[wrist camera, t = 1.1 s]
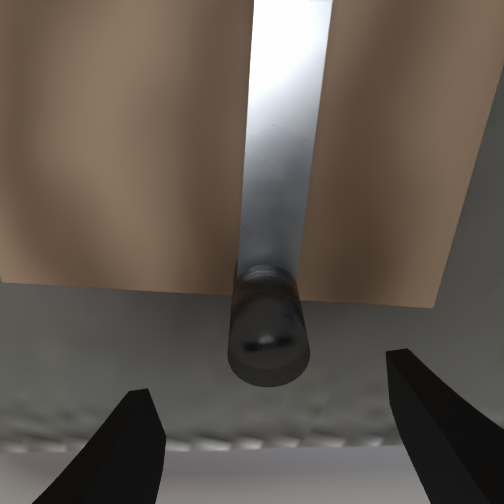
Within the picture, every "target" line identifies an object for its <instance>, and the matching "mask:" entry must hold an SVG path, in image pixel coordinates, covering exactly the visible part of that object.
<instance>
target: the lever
mask: <svg viewBox="0 0 504 504" xmlns="http://www.w3.org/2000/svg"><path fill="white" fill-rule="evenodd" d="M332 1H333V0H254V16H253V32H252V48H251V64H250V80H249V96H248V111H247V127H246V143H245V159H244V175H243V191H242V207H241V223H240V239H239V255H238V261H237V263H236V266H235V270H234V281H233V293H232V306H231V318H230V330H229V342H228V362H229V364H230V367H231V369H232V370H233V372H234V373H235V374H236V375H237V376H238V377H239V378H241V379H242V380H243V381H245V382H247V383H249V384H252V385H255V386H259V387H277V386H281V385H285V384H287V383H289V382H291V381H293V380H295V379H296V378H297V377H299V376H300V375H301V374H302V373H303V371H304V370H305V369H306V367H307V365H308V362H309V359H310V348H309V343H308V338H307V333H306V328H305V322H304V317H303V312H302V307H301V302H300V297H299V292H298V287H297V282H296V281H297V273H298V265H299V257H300V250H301V242H302V234H303V226H304V219H305V211H306V203H307V195H308V187H309V180H310V172H311V164H312V156H313V149H314V141H315V133H316V125H317V118H318V110H319V102H320V94H321V87H322V79H323V71H324V63H325V55H326V48H327V40H328V32H329V24H330V17H331V9H332Z"/></svg>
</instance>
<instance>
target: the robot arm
mask: <svg viewBox="0 0 504 504" xmlns="http://www.w3.org/2000/svg"><path fill="white" fill-rule="evenodd" d="M386 362H387V375H388V387H389V400H390V406H391V409H392V413H393V416H394V419H395V422H396V425H397V428H398V431H399V434H400V437H401V439H402V441H403V444H404V446H405V448H406V450H407V452H408V455H409V457H410V459H411V461H412V463H413V466H414V468H415V470H416V472H417V474H418V476H419V479H420V481H421V483H422V485H423V487H424V490H425V492H426V494H427V496H428V498H429V501H430V503H431V504H504V429H502V428H501V427H500V426H498V425H497V424H495V423H494V422H493V421H491V420H490V419H489V418H487V417H486V416H485V415H483V414H482V413H481V412H479V411H478V410H477V409H475V408H474V407H473V406H472V405H470V404H469V403H468V402H467V401H465V400H464V399H463V398H462V397H461V396H459V395H458V394H457V393H456V392H455V391H453V390H452V389H451V388H450V387H449V386H448V385H446V384H445V383H444V382H443V381H442V380H441V379H440V378H439V377H437V376H436V375H435V374H434V373H433V372H432V371H431V370H430V369H429V368H428V367H427V366H426V365H424V364H423V363H422V362H421V361H420V360H419V359H418V358H417V357H416V356H415V355H414V354H413V353H412V352H411V351H410V350H409V349H407V348H406V349H399V350H393V351H386ZM165 445H166V435H165V432H164V429H163V427H162V424H161V422H160V419H159V416H158V414H157V411H156V408H155V406H154V403H153V400H152V398H151V395H150V393H149V390H148V388H147V389H141V390H134V391H129V392H128V393H127V394H126V395H125V397H124V398H123V399H122V400H121V401H120V403H119V404H118V405H117V407H116V408H115V409H114V410H113V412H112V413H111V414H110V416H109V417H108V418H107V419H106V421H105V422H104V423H103V424H102V426H101V427H100V428H99V429H98V431H97V432H96V433H95V434H94V436H93V437H92V438H91V439H90V440H89V442H88V443H87V444H86V445H85V447H84V448H83V449H82V450H81V451H80V452H79V454H78V455H77V456H76V457H75V458H74V459H73V460H72V461H71V463H70V464H69V465H68V466H67V467H66V468H65V469H64V471H63V472H62V473H61V474H60V475H59V476H58V477H57V478H56V479H55V481H54V482H53V483H52V484H51V485H50V486H49V487H48V488H47V489H46V490H45V491H44V492H43V493H42V494H41V495H40V496H39V497H38V498H37V499H36V500H35V501H34V502H33V503H32V504H155V502H156V498H157V493H158V489H159V485H160V481H161V476H162V471H163V464H164V456H165Z"/></svg>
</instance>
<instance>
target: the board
mask: <svg viewBox="0 0 504 504" xmlns="http://www.w3.org/2000/svg"><path fill="white" fill-rule="evenodd" d="M253 16H254V0H0V276H1V281H2V282H9V283H25V284H42V285H58V286H74V287H91V288H107V289H124V290H140V291H157V292H173V293H189V294H206V295H222V296H232V293H233V281H234V270H235V266H236V263H237V261H238V255H239V239H240V223H241V207H242V191H243V175H244V159H245V143H246V127H247V111H248V96H249V80H250V64H251V48H252V32H253ZM503 65H504V0H333V1H332V9H331V17H330V24H329V32H328V40H327V48H326V55H325V63H324V71H323V79H322V87H321V94H320V102H319V110H318V118H317V125H316V133H315V141H314V149H313V156H312V164H311V172H310V180H309V187H308V195H307V203H306V211H305V219H304V226H303V234H302V242H301V250H300V257H299V265H298V273H297V281H296V282H297V287H298V292H299V297H300V300H305V301H321V302H337V303H354V304H370V305H387V306H403V307H420V308H433V307H434V304H435V301H436V297H437V294H438V290H439V287H440V283H441V280H442V276H443V273H444V269H445V266H446V262H447V259H448V256H449V252H450V249H451V245H452V242H453V238H454V235H455V231H456V228H457V224H458V221H459V217H460V214H461V211H462V207H463V204H464V200H465V197H466V193H467V190H468V186H469V183H470V179H471V176H472V172H473V169H474V165H475V162H476V159H477V155H478V152H479V148H480V145H481V141H482V138H483V134H484V131H485V127H486V124H487V120H488V117H489V114H490V110H491V107H492V103H493V100H494V96H495V93H496V89H497V86H498V82H499V79H500V75H501V72H502V69H503Z"/></svg>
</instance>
